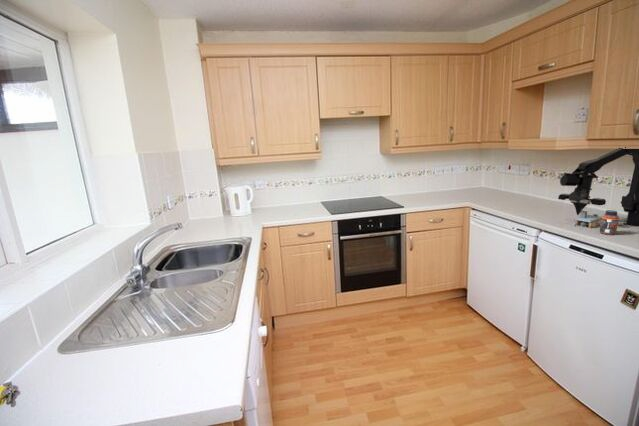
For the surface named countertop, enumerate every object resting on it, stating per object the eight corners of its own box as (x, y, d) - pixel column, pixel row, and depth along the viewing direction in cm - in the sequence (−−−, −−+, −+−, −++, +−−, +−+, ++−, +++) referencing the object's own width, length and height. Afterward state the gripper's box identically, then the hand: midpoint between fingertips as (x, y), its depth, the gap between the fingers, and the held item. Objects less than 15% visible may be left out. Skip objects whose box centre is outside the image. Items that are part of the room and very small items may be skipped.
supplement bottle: (610, 235, 142) (614, 212, 139) (596, 232, 147) (599, 210, 145) (619, 234, 143) (623, 211, 141) (604, 231, 149) (608, 209, 146)
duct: (586, 221, 166) (587, 216, 166) (602, 224, 160) (603, 219, 160) (574, 225, 161) (575, 220, 160) (590, 228, 155) (591, 222, 154)
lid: (588, 216, 166) (589, 208, 165) (603, 218, 160) (604, 210, 159) (575, 219, 160) (576, 211, 159) (590, 222, 154) (591, 213, 153)
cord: (586, 224, 162) (586, 219, 162) (593, 224, 160) (592, 219, 160) (579, 226, 159) (579, 221, 159) (585, 226, 157) (585, 221, 157)
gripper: (555, 184, 162) (550, 212, 166) (598, 190, 146) (591, 220, 150) (566, 183, 167) (561, 210, 171) (609, 188, 151) (602, 218, 154)
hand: (577, 214), depth 161 cm, fingers closed
